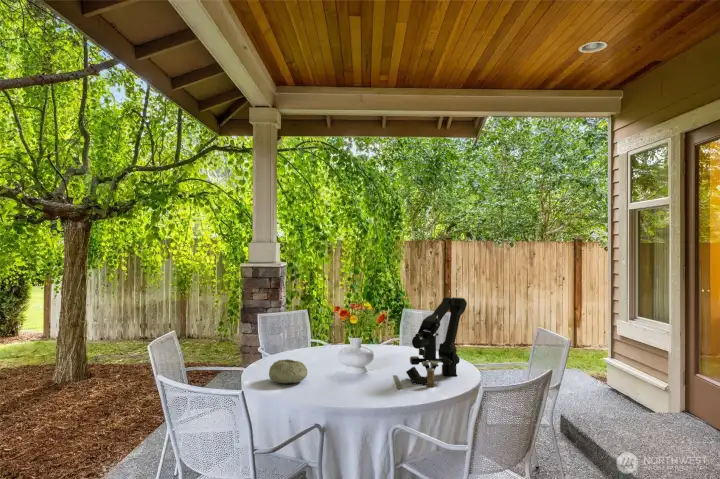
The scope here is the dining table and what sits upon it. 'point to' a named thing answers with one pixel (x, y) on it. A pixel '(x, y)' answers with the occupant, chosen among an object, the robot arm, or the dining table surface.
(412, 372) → the handheld gaming console
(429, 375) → the tapered tan cylinder
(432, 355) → the robot arm
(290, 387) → the dining table surface
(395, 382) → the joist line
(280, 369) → the olive green stone
